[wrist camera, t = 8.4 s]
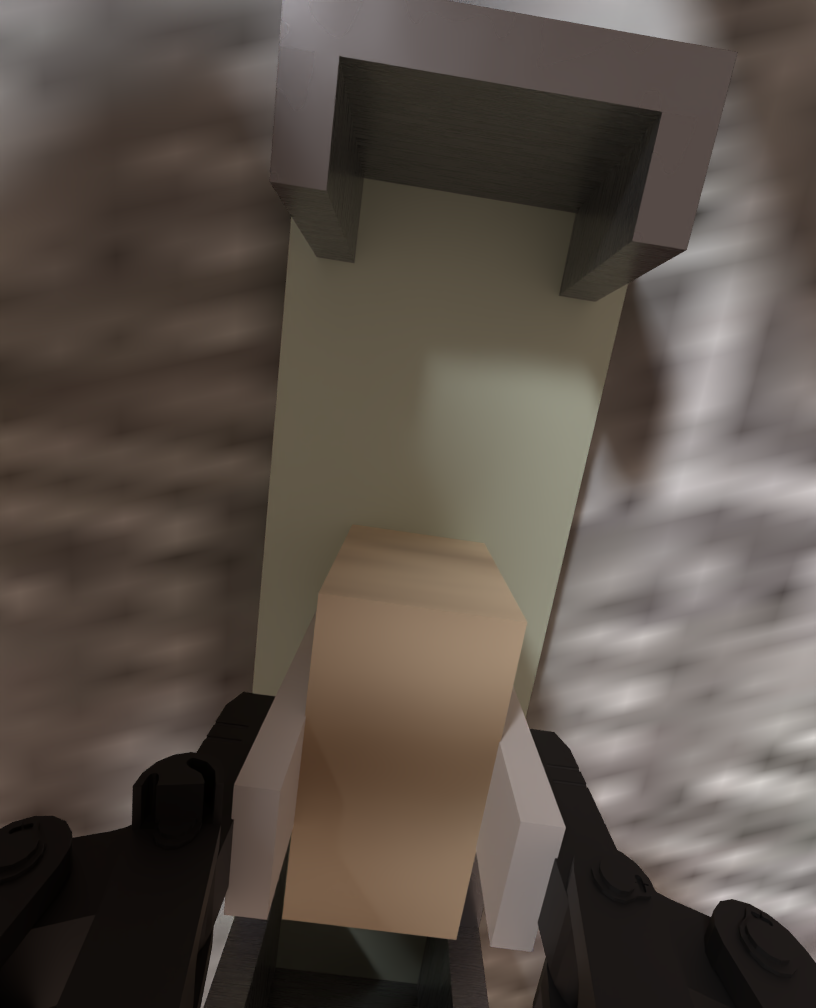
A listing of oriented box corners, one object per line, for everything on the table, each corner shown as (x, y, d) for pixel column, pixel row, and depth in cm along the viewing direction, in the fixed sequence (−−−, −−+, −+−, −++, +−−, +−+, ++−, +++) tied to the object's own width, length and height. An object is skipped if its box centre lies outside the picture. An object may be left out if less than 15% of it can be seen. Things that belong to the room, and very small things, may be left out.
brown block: (441, 766, 15) (456, 939, 10) (324, 751, 15) (282, 918, 10) (484, 543, 13) (527, 622, 8) (352, 524, 13) (318, 593, 8)
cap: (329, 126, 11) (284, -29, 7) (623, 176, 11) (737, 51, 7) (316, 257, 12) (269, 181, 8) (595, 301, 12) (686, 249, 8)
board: (304, 186, 12) (295, 167, 11) (623, 238, 12) (642, 223, 11) (238, 950, 18) (228, 981, 17) (454, 975, 18) (457, 1007, 17)
